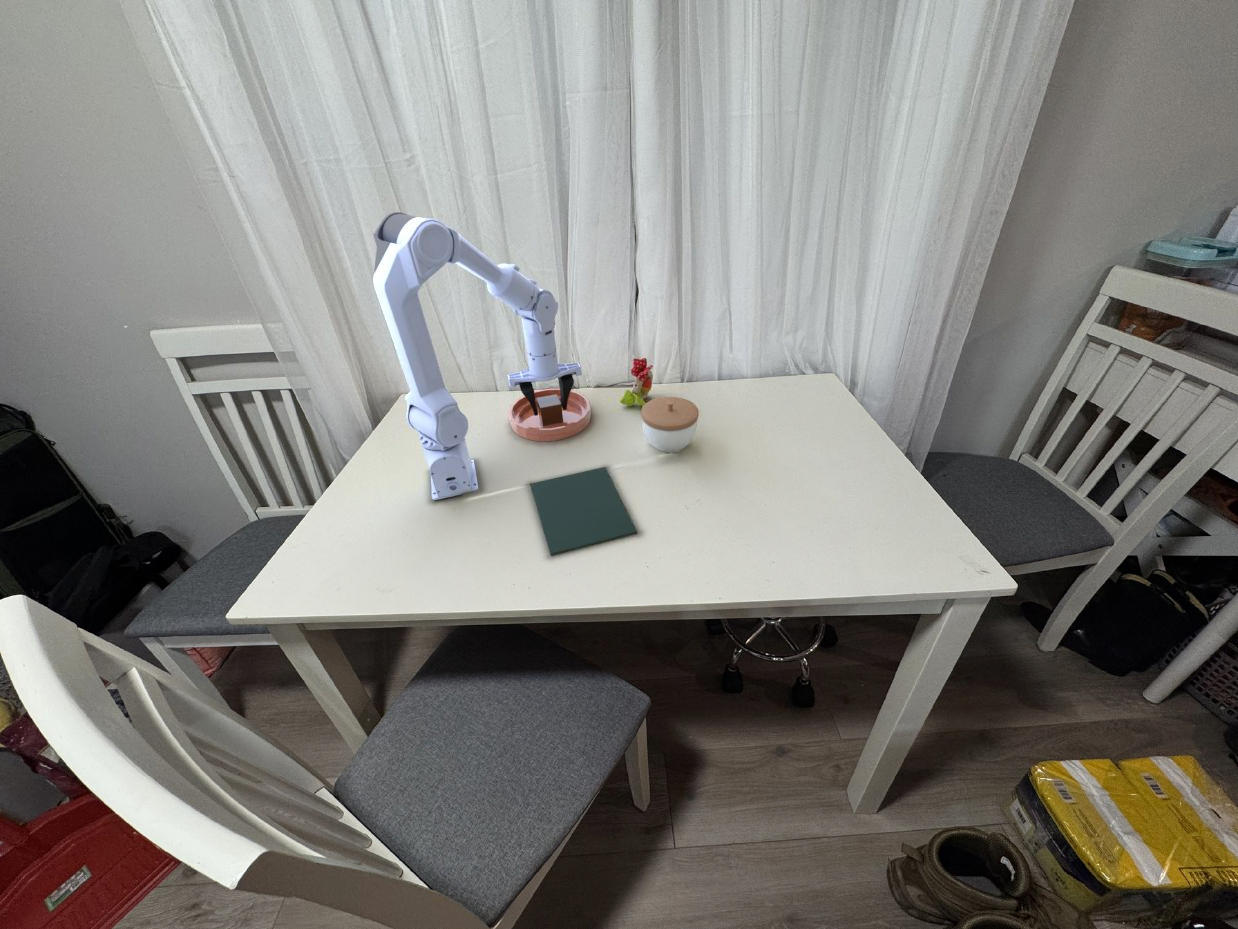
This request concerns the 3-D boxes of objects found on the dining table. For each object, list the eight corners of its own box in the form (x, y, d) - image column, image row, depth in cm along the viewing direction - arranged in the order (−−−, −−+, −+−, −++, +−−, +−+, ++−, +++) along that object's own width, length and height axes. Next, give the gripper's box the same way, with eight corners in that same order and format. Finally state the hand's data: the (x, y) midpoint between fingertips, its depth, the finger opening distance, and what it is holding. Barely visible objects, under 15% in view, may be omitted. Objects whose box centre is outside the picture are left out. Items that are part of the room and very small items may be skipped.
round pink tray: (600, 433, 105) (599, 420, 103) (518, 450, 101) (515, 437, 100) (579, 395, 118) (578, 383, 116) (506, 409, 114) (504, 396, 112)
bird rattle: (630, 403, 118) (615, 407, 110) (638, 355, 115) (622, 355, 107) (656, 409, 116) (642, 413, 108) (664, 359, 113) (650, 360, 105)
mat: (637, 533, 82) (637, 531, 82) (550, 555, 79) (550, 553, 79) (605, 468, 96) (604, 466, 96) (530, 485, 93) (530, 483, 92)
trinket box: (689, 464, 96) (692, 422, 90) (634, 455, 99) (633, 413, 93) (701, 433, 104) (704, 392, 98) (650, 426, 107) (650, 385, 101)
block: (563, 422, 108) (561, 403, 106) (542, 426, 107) (540, 408, 105) (559, 411, 112) (556, 394, 109) (539, 415, 111) (536, 397, 108)
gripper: (572, 336, 105) (578, 395, 113) (501, 348, 101) (512, 407, 110) (581, 350, 99) (587, 410, 107) (506, 363, 96) (517, 424, 104)
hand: (549, 410), depth 108 cm, fingers open, 5 cm apart
